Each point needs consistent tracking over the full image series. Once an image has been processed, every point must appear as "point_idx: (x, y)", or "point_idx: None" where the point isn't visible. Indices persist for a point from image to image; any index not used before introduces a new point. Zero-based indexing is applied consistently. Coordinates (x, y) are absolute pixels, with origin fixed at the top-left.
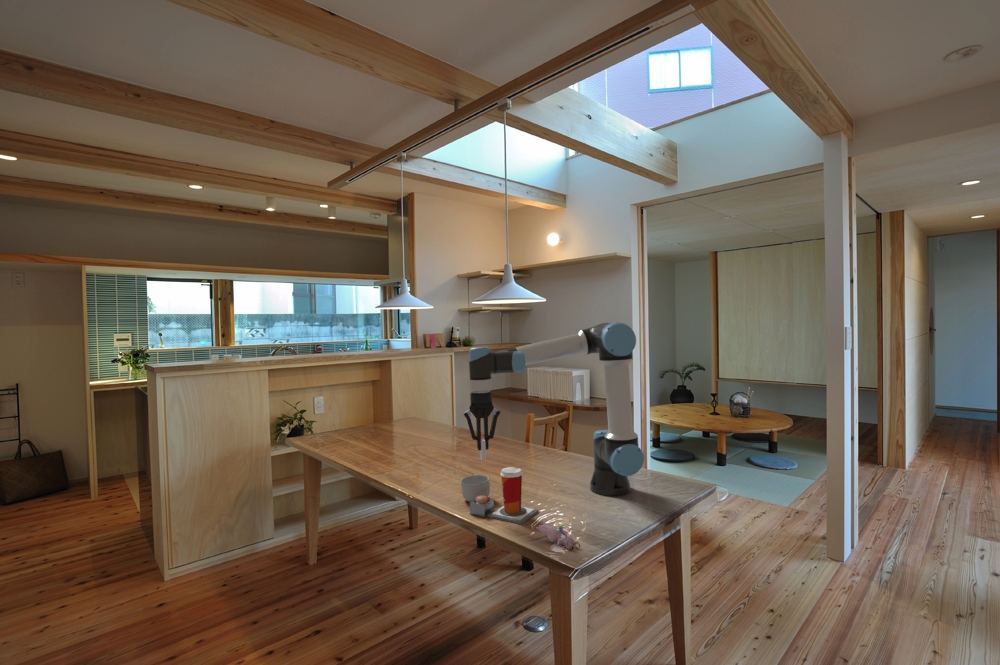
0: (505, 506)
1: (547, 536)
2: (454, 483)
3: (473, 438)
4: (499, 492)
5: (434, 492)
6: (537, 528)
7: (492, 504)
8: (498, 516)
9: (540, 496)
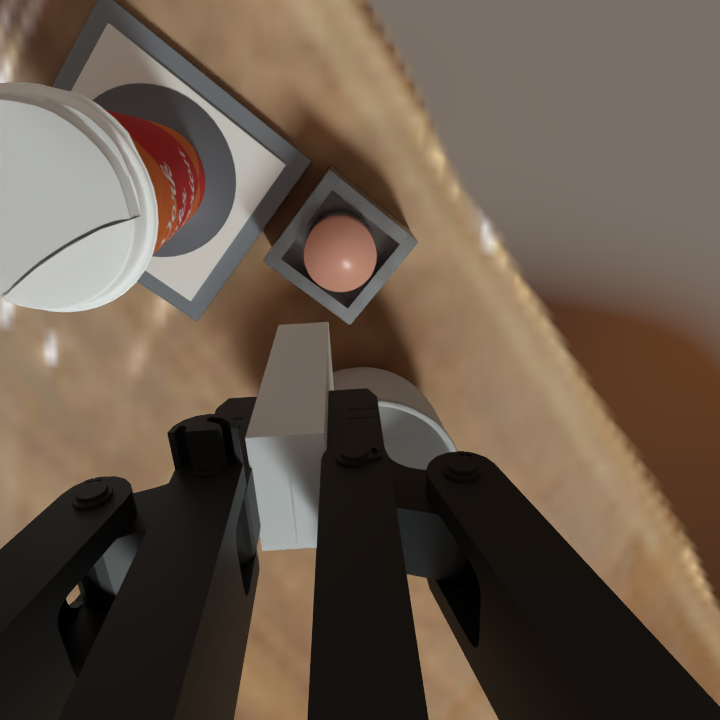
0: (190, 151)
1: None
2: (449, 635)
3: (474, 462)
4: None
5: None
6: None
7: (274, 244)
8: (247, 120)
9: (3, 412)
